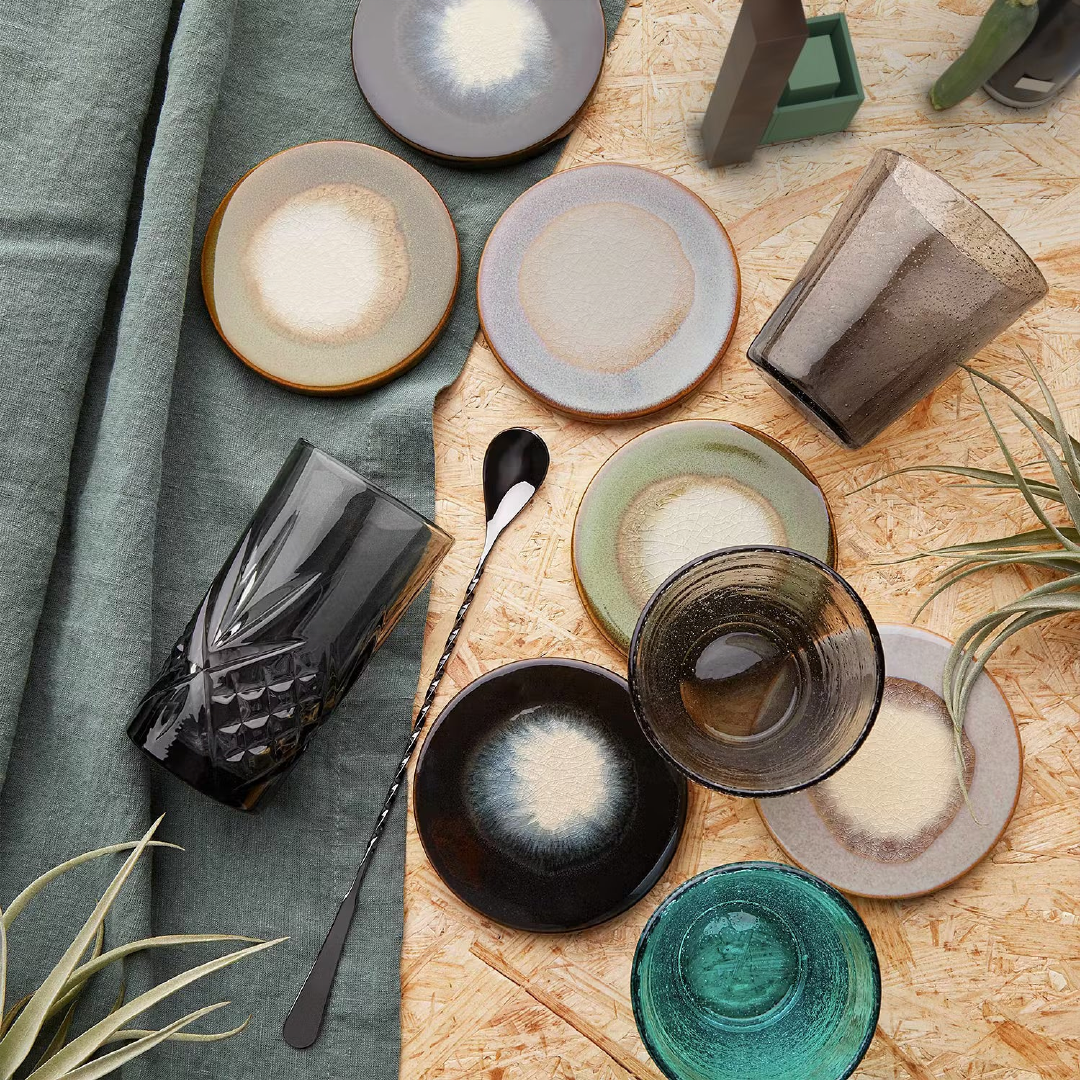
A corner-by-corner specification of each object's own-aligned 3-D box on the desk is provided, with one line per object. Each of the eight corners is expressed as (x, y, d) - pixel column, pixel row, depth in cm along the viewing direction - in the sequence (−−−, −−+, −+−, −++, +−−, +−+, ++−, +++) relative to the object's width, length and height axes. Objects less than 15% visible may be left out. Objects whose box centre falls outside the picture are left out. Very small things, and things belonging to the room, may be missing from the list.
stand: (741, 121, 96) (798, -16, 76) (750, 161, 95) (809, 34, 75) (699, 128, 96) (745, -7, 76) (708, 168, 95) (756, 43, 75)
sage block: (813, 65, 96) (829, 34, 91) (824, 110, 95) (840, 81, 90) (766, 74, 96) (779, 42, 91) (776, 119, 95) (790, 90, 90)
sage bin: (826, 47, 97) (844, 11, 91) (845, 130, 96) (865, 98, 90) (740, 62, 96) (753, 27, 91) (758, 145, 95) (773, 114, 90)
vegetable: (964, 90, 96) (1078, -53, 77) (962, 129, 96) (1076, -5, 76) (922, 86, 96) (1024, -59, 76) (919, 125, 96) (1022, -10, 76)
